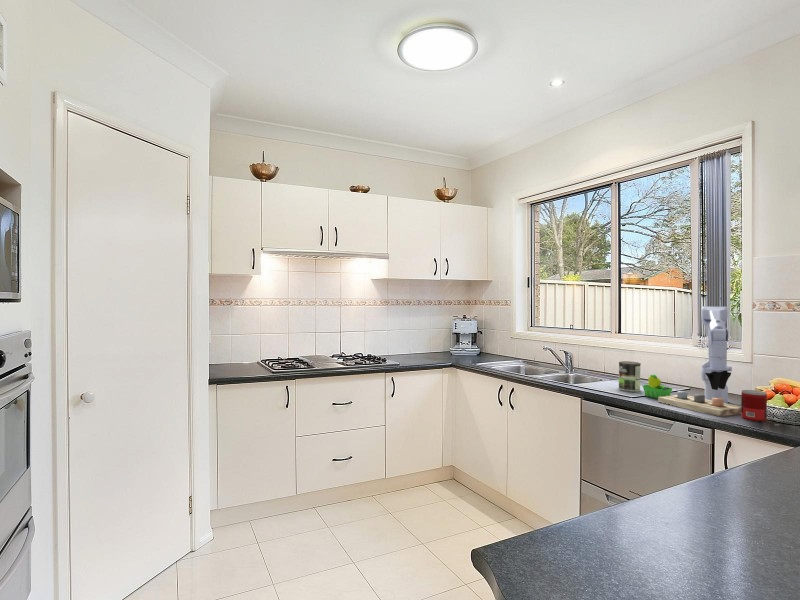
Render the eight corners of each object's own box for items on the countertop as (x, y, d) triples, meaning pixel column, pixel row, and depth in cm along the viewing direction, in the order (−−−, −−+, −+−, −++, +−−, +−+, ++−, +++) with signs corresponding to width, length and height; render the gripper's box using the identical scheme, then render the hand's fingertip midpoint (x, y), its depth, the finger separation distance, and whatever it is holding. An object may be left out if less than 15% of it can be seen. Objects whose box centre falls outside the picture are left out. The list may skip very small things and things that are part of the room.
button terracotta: (716, 405, 202) (716, 397, 202) (725, 407, 198) (726, 399, 198) (710, 406, 201) (710, 398, 201) (719, 408, 197) (719, 399, 197)
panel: (682, 399, 223) (682, 394, 223) (745, 413, 197) (745, 407, 197) (657, 402, 217) (658, 396, 217) (719, 416, 191) (719, 410, 191)
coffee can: (625, 391, 241) (626, 364, 241) (614, 387, 251) (614, 361, 251) (644, 391, 242) (645, 363, 242) (632, 387, 252) (633, 361, 252)
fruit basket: (673, 399, 224) (673, 375, 224) (661, 400, 220) (661, 376, 220) (651, 394, 235) (651, 371, 235) (639, 396, 231) (639, 372, 231)
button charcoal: (698, 401, 209) (698, 393, 209) (707, 403, 206) (707, 395, 206) (692, 402, 208) (692, 394, 208) (700, 404, 204) (701, 396, 204)
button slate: (681, 398, 217) (681, 390, 217) (689, 400, 213) (689, 392, 213) (675, 399, 215) (675, 391, 215) (683, 400, 212) (683, 392, 212)
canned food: (770, 422, 182) (771, 394, 182) (747, 421, 184) (747, 393, 184) (759, 417, 190) (760, 390, 190) (737, 416, 191) (737, 389, 191)
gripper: (716, 358, 193) (716, 392, 193) (739, 357, 199) (739, 389, 199) (699, 356, 199) (699, 389, 199) (722, 355, 205) (722, 386, 205)
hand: (718, 389), depth 199 cm, fingers open, 4 cm apart
